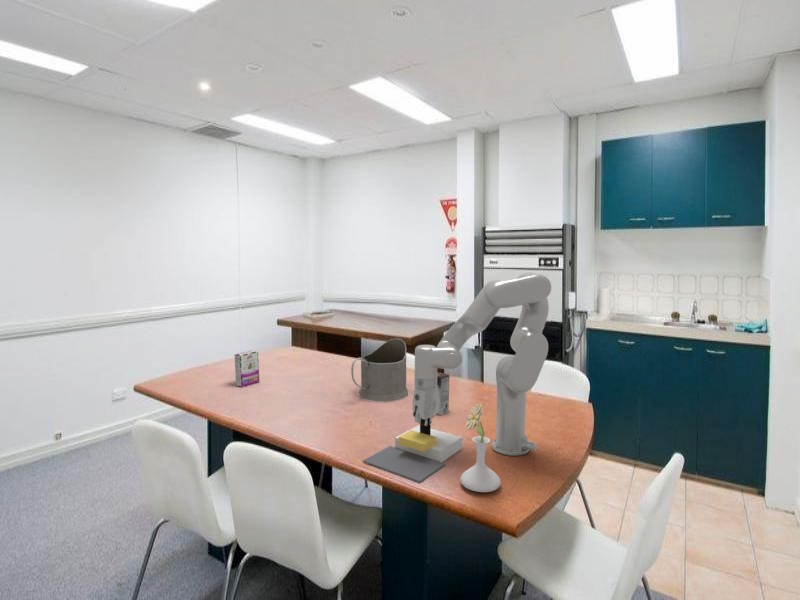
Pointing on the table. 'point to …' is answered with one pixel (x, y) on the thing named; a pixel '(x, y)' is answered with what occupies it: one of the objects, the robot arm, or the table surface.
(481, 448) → the flower in vase
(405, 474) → the mat
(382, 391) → the pitcher
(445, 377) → the coffee box
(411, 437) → the tile
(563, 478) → the table surface
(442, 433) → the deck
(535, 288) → the robot arm
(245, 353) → the candy bar box
